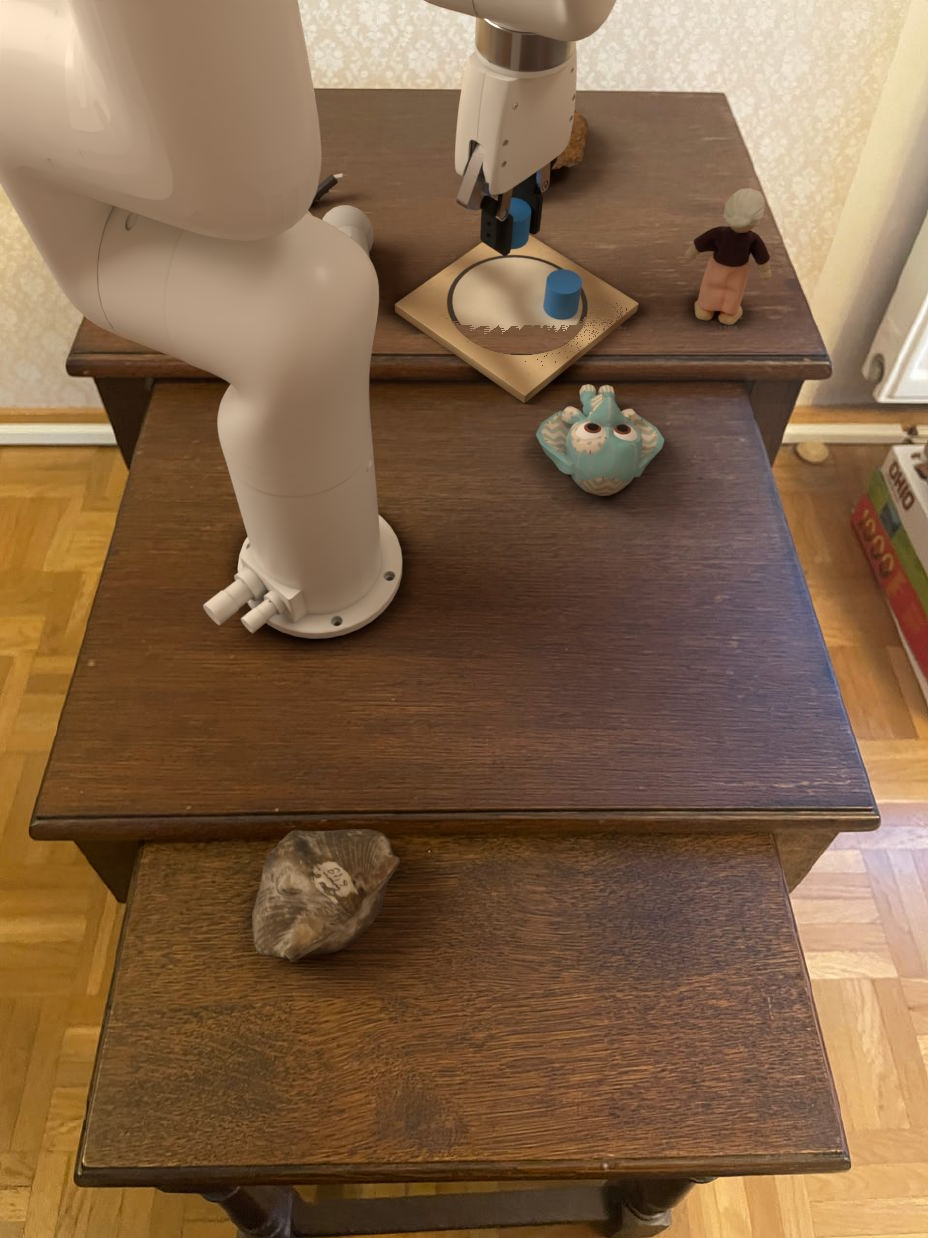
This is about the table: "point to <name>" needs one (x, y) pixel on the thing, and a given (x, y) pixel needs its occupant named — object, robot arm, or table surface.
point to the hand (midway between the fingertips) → (510, 235)
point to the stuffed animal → (599, 442)
